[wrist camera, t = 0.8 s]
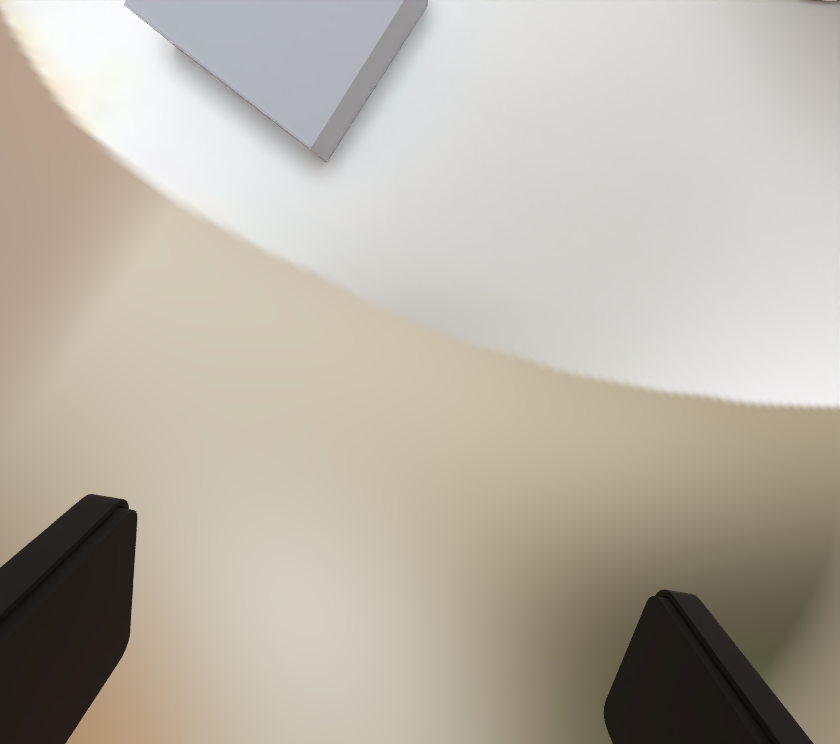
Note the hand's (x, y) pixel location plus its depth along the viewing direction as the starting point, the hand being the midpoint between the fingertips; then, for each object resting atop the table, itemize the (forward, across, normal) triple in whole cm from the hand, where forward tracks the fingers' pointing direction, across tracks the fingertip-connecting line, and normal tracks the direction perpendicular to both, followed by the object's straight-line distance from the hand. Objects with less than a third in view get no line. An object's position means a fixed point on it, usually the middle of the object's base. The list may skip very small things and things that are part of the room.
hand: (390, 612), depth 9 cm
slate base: (+28, +10, -17) cm, 34 cm away
